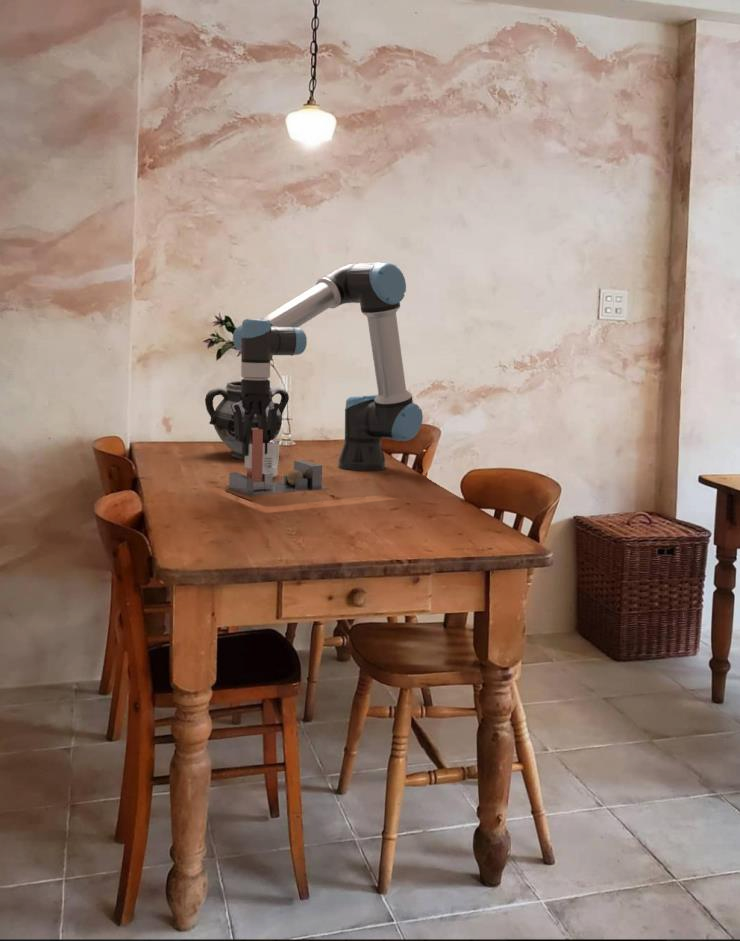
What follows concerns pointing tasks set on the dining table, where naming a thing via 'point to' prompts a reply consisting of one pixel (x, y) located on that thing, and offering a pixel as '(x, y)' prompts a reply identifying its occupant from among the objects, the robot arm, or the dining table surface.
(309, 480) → the press base
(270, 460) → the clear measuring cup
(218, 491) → the dining table surface
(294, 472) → the walnut
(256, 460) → the ram handle
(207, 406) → the ceramic pot
